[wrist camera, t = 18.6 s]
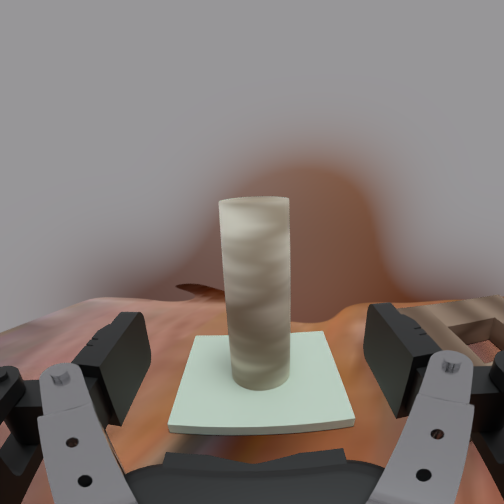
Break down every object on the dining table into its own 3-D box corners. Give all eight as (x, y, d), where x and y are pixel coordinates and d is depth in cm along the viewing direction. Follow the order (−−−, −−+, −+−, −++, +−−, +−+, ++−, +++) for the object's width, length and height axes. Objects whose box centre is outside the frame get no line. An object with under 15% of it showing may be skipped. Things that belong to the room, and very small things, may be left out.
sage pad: (170, 432, 18) (167, 424, 18) (196, 342, 29) (195, 335, 29) (353, 426, 18) (355, 418, 17) (322, 338, 29) (322, 331, 29)
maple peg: (230, 391, 21) (214, 205, 18) (233, 358, 25) (222, 198, 22) (292, 389, 21) (292, 202, 18) (287, 356, 25) (285, 195, 22)
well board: (454, 447, 14) (467, 420, 13) (380, 332, 29) (383, 310, 28) (578, 383, 13) (589, 359, 13) (493, 314, 29) (498, 294, 28)
